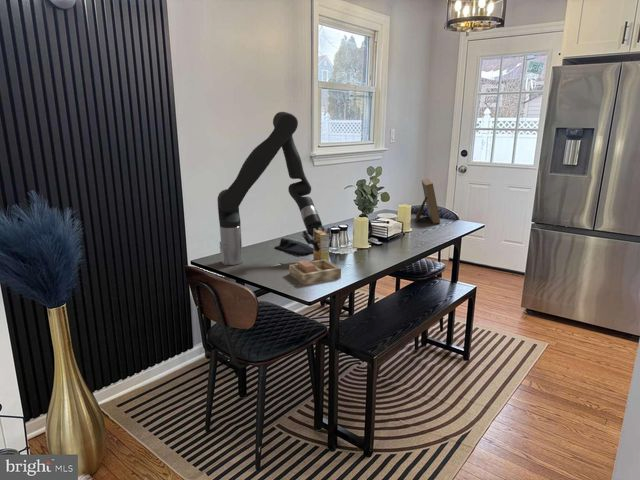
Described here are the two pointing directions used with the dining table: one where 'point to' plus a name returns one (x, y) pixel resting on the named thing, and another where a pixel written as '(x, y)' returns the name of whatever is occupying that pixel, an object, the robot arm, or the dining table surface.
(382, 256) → the dining table surface
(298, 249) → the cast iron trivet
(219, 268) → the dining table surface
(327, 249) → the candy box
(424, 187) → the photo frame
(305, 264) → the reddish brown block
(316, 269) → the wooden compartment tray
